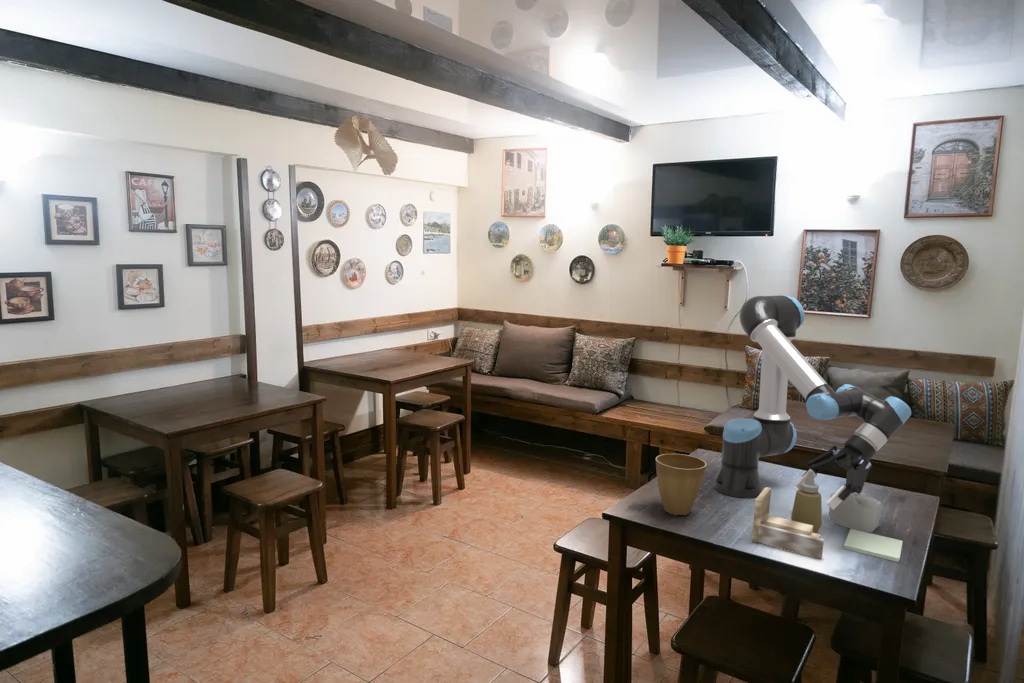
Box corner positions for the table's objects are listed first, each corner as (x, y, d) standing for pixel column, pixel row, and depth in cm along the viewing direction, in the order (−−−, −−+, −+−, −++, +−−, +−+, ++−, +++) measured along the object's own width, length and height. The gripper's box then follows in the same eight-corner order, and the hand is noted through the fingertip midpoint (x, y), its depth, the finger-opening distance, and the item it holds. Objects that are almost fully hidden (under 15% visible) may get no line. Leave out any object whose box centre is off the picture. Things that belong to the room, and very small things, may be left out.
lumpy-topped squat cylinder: (869, 534, 187) (872, 505, 186) (822, 520, 197) (825, 492, 195) (881, 524, 195) (884, 496, 193) (835, 511, 204) (838, 484, 203)
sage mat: (843, 548, 178) (844, 545, 177) (850, 532, 188) (850, 528, 188) (899, 562, 171) (899, 558, 170) (902, 544, 181) (902, 540, 181)
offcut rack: (751, 541, 181) (755, 499, 179) (762, 526, 191) (765, 487, 189) (821, 559, 171) (825, 515, 169) (828, 542, 181) (832, 501, 179)
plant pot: (694, 525, 190) (698, 472, 188) (645, 513, 198) (648, 462, 196) (708, 508, 203) (712, 459, 201) (662, 498, 211) (665, 450, 208)
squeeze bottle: (814, 527, 191) (820, 468, 188) (825, 540, 183) (831, 477, 180) (786, 526, 191) (791, 466, 189) (795, 538, 183) (800, 476, 181)
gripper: (906, 465, 175) (852, 523, 174) (841, 439, 199) (793, 489, 198) (891, 447, 173) (836, 505, 172) (827, 422, 197) (779, 473, 196)
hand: (813, 497), depth 185 cm, fingers open, 13 cm apart
